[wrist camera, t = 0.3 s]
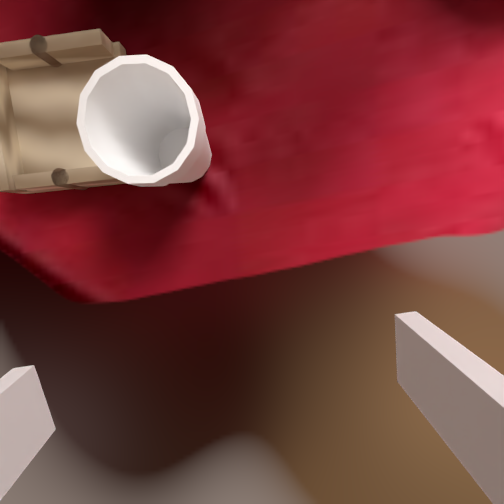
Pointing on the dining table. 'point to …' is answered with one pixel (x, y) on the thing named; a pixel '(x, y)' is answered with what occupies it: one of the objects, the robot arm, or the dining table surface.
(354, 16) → the dining table surface
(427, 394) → the robot arm
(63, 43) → the cradle
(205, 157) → the foam cup
